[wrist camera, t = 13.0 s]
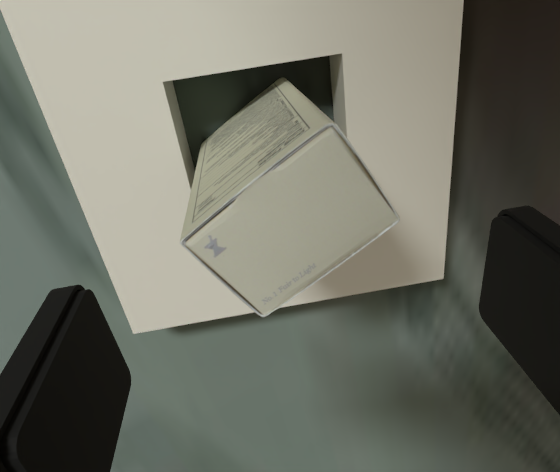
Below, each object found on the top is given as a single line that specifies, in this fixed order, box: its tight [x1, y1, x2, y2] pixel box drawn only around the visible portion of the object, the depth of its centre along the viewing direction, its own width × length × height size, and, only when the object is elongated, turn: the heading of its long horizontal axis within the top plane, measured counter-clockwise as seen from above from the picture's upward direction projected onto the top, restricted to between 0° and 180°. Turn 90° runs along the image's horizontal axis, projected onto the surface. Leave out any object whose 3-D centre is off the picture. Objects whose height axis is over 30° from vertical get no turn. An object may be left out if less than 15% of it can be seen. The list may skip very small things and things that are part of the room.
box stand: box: [0, 0, 464, 334], centre depth 23 cm, size 20×20×3 cm
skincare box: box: [180, 77, 400, 317], centre depth 19 cm, size 6×4×12 cm
